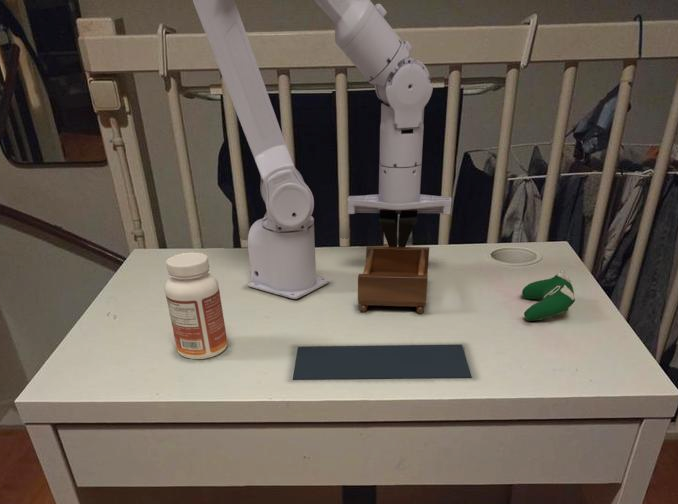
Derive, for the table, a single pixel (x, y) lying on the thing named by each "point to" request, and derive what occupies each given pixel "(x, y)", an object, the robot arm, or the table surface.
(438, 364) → the mat
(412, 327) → the table surface
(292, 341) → the table surface
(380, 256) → the brown wooden box
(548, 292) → the green slippers
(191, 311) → the pill bottle
